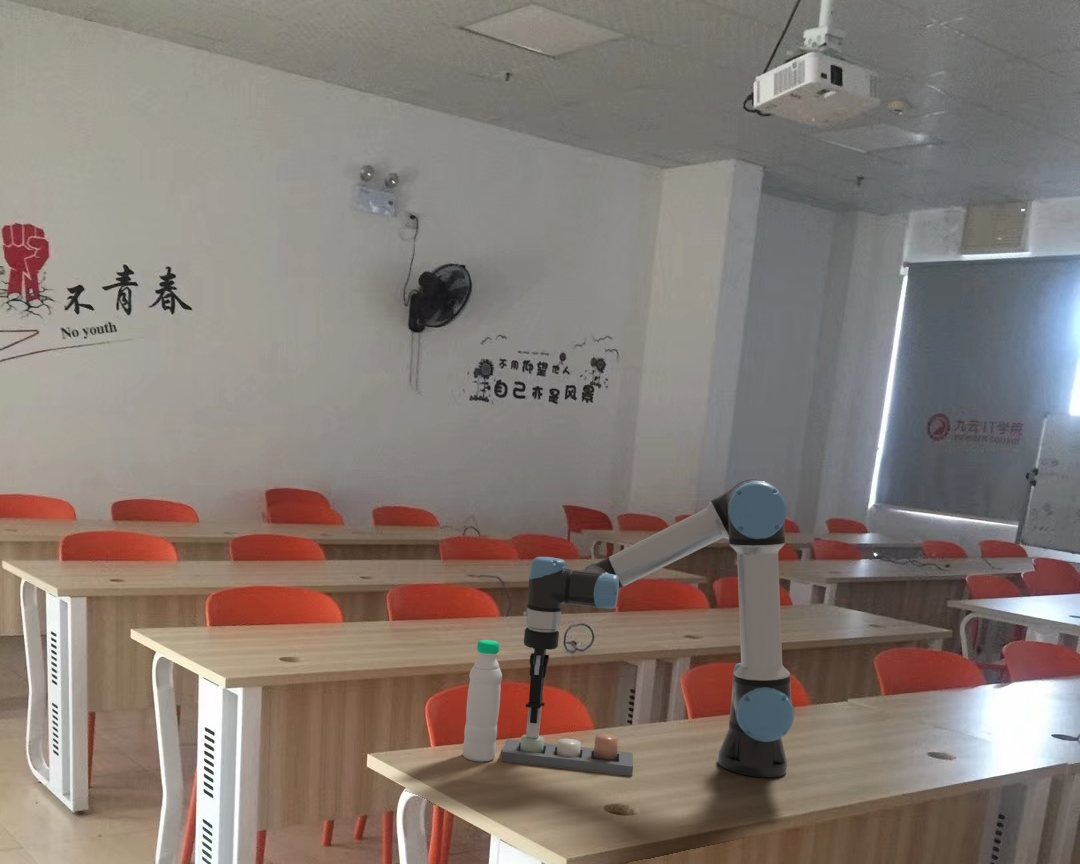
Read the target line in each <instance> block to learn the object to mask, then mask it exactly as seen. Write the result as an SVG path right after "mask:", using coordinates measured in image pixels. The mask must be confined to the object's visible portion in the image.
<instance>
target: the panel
mask: <svg viewBox="0 0 1080 864" xmlns="http://www.w3.org/2000/svg"><path fill="white" fill-rule="evenodd" d="M557 745H558V743H548V742H544V747H543V754H541V753H532V752H523V751H520V746H521V739H511V738H506V740H505V742H504V746H503V748H502V752H501V757H500V761H501V762H503V761H505V762H504V763H512V762H513V763H514V764H521V765H532V766H540V767H541V766H542V767H548V768H550V767H551V768H558V769H559V768H560V769H566V770H576V771H584V772H585V771H586V772H594V773H595V772H596V773H604V774H610V775H620V776H622V775H623V776H627V777H630V776H631V777H632V776H633V772H634V770H633V769H634V757H633V756H634V755H633V752H629V751H621V750H617V757H616V758H615V759H602V758H598V757H596V756H594V747H583V746H580V758H578V757H568V756H559V755H557Z"/></svg>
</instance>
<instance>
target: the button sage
mask: <svg viewBox="0 0 1080 864" xmlns="http://www.w3.org/2000/svg"><path fill="white" fill-rule="evenodd" d="M520 737H521V738H520V740H521V746H520V751H523V752H532V753H541V754H543V747H544V743H545V737H544V736H542V735H539V737H538V738H531V737H526V734H523V735H520Z"/></svg>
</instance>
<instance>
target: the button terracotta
mask: <svg viewBox="0 0 1080 864" xmlns="http://www.w3.org/2000/svg"><path fill="white" fill-rule="evenodd" d="M618 745H619V737H618V736H617V735H614V734H609V733H597V734H595V737H594V745H593V746H594V747H593V748H594V756H596V757H598V758H602V759H615V758H616V757H617V751H618V750H619V749H618V747H619V746H618Z"/></svg>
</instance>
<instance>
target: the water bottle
mask: <svg viewBox="0 0 1080 864" xmlns="http://www.w3.org/2000/svg"><path fill="white" fill-rule="evenodd" d="M476 651H477V652H476V653H477V654H478V657H477V659H476V660H475V662H474V664H473V666H472V668H471V670H470V671H469V675H468V676H469V683H468V684H469V685H468V690H467V698H466V699H467V700H466V710H465V711H466V712H465V714H466V716H465V719H466V721H465V725H464V732H463V733H464V735H463V736H464V740H463V745H462V756H463V757H464V758H465V759H467V760H469V761H472V762H484V761H485V762H490V761H492V760H493V759H495V756H496V752H497V751H496V750H497V743H496V740H497V738H498V721H499V714H500V706H501V686H502V685H501V682H502V678H503V673H502V670H501V668H500V664H499V661H498V659H497V656H498V654H499V652H500V643H499V642H498V641H496V640H491V639H482V640H481V639H480V640H478V642H477V646H476ZM485 762H484V763H485Z"/></svg>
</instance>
